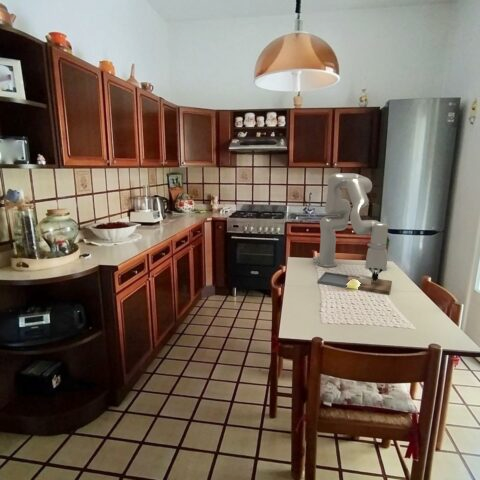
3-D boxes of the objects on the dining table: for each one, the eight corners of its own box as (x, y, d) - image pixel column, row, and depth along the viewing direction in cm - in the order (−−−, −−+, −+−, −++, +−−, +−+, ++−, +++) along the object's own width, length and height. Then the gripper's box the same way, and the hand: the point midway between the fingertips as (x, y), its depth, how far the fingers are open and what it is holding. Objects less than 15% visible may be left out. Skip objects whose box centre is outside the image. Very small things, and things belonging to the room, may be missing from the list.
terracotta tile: (346, 283, 184) (347, 279, 184) (348, 280, 189) (349, 276, 189) (358, 285, 181) (358, 281, 181) (360, 282, 187) (360, 277, 186)
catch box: (317, 283, 185) (317, 280, 185) (325, 274, 201) (325, 271, 201) (359, 290, 176) (360, 287, 175) (364, 280, 191) (364, 277, 191)
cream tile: (358, 282, 181) (359, 278, 180) (360, 279, 186) (360, 275, 186) (370, 284, 178) (371, 280, 178) (372, 281, 184) (372, 276, 183)
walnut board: (359, 290, 176) (360, 286, 175) (364, 280, 191) (364, 276, 191) (389, 295, 169) (389, 291, 169) (391, 284, 185) (391, 280, 185)
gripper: (361, 246, 176) (358, 280, 180) (393, 249, 170) (389, 284, 173) (363, 243, 183) (360, 276, 187) (394, 246, 176) (390, 280, 180)
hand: (374, 280), depth 180 cm, fingers closed
